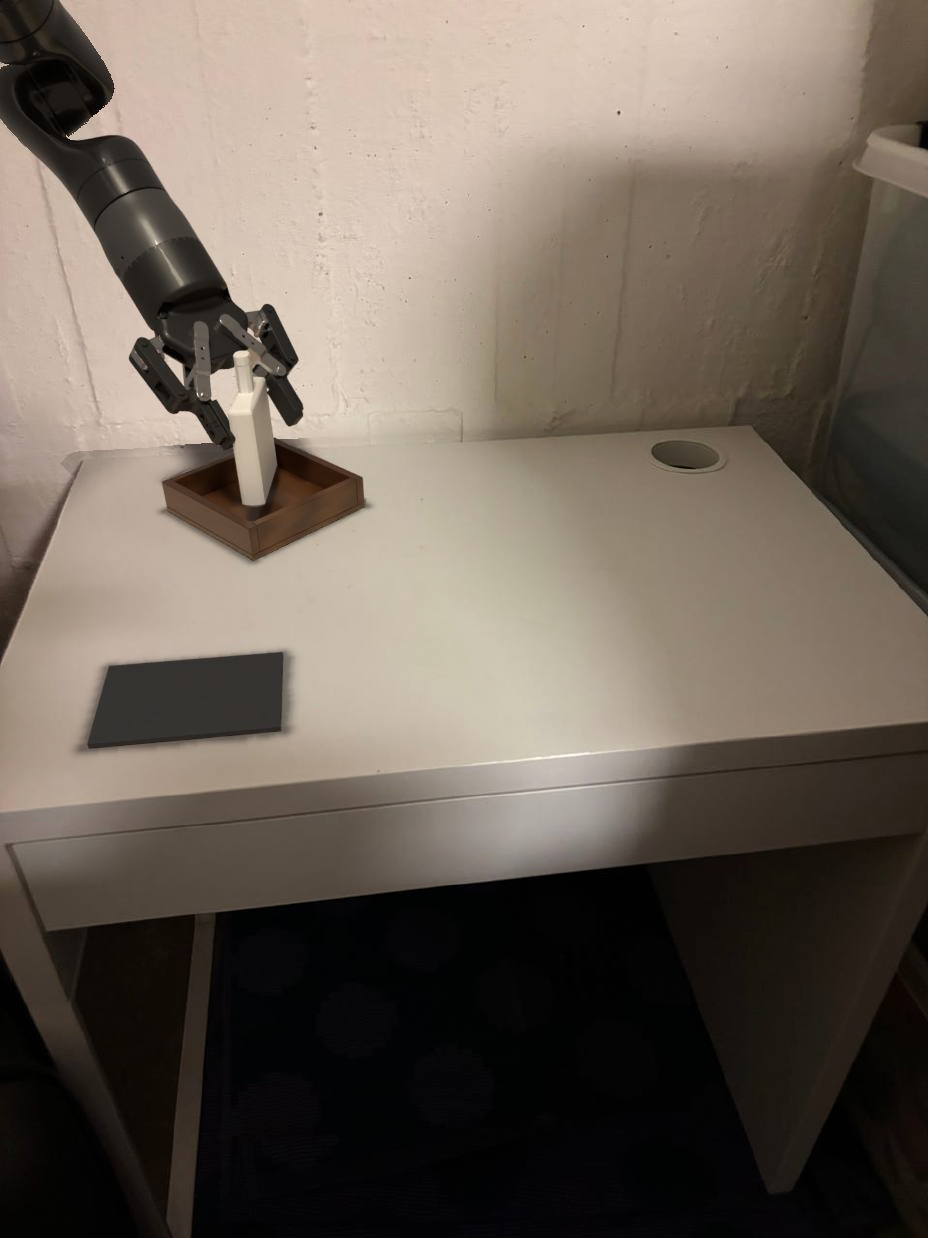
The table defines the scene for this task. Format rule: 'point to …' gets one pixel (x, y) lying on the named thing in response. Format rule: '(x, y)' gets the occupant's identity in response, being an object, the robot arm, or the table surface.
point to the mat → (189, 699)
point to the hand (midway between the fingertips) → (265, 432)
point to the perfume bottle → (252, 433)
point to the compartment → (293, 505)
